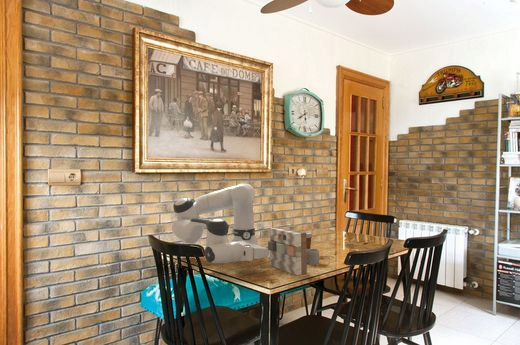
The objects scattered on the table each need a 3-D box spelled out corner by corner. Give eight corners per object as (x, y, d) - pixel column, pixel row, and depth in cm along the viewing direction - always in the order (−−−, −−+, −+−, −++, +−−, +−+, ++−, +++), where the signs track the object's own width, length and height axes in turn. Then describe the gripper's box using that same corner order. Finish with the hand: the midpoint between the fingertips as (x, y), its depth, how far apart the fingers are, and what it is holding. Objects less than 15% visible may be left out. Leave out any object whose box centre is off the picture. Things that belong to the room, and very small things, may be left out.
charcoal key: (268, 249, 189) (267, 241, 189) (273, 249, 191) (273, 240, 191) (272, 251, 186) (272, 242, 186) (277, 250, 187) (277, 241, 187)
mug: (315, 261, 198) (315, 248, 198) (321, 264, 192) (321, 250, 192) (297, 263, 195) (297, 249, 195) (303, 266, 189) (302, 252, 189)
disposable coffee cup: (305, 257, 208) (305, 234, 208) (291, 255, 214) (291, 233, 214) (316, 254, 215) (315, 232, 215) (301, 252, 221) (301, 231, 221)
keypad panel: (269, 265, 191) (269, 228, 191) (279, 263, 194) (279, 227, 194) (296, 275, 172) (295, 233, 172) (306, 273, 175) (306, 232, 175)
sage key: (276, 252, 183) (276, 243, 183) (281, 251, 184) (281, 243, 184) (281, 253, 179) (281, 245, 179) (286, 253, 181) (286, 244, 181)
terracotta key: (288, 254, 177) (287, 245, 177) (293, 254, 178) (293, 245, 178) (293, 256, 173) (293, 247, 173) (298, 255, 175) (298, 246, 175)
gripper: (230, 253, 188) (255, 250, 195) (251, 262, 170) (278, 258, 177) (230, 240, 188) (255, 237, 195) (251, 247, 170) (278, 244, 177)
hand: (266, 247), depth 186 cm, fingers closed
